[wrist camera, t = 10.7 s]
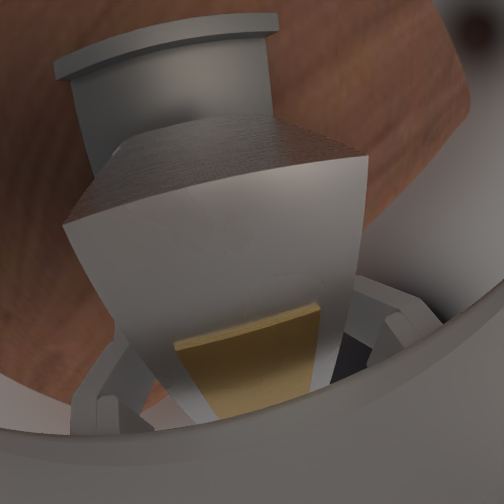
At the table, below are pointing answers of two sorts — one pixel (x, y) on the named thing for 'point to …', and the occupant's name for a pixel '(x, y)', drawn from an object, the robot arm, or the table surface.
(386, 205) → the table surface
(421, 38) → the table surface
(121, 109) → the tray
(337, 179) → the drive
